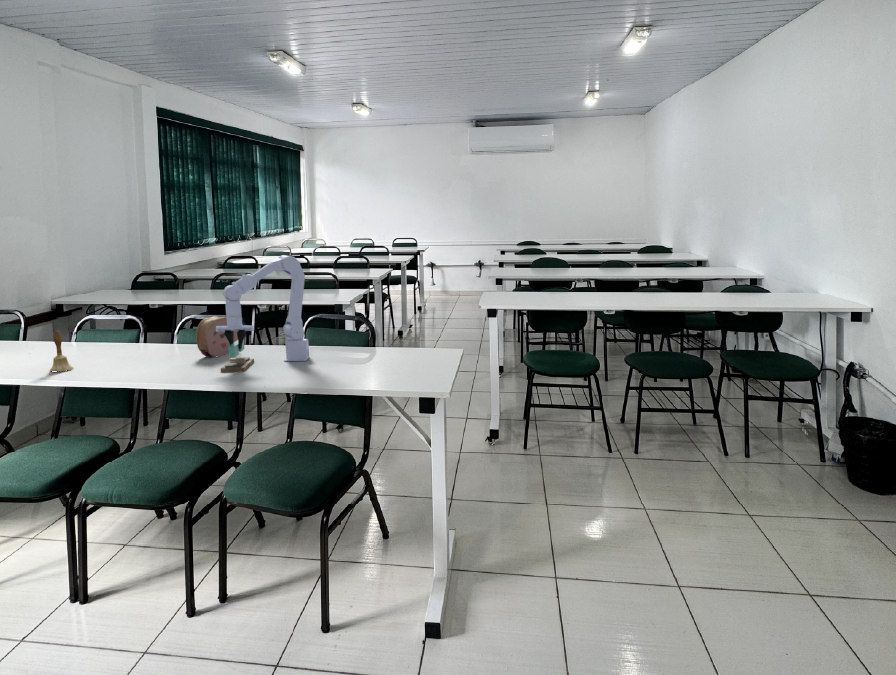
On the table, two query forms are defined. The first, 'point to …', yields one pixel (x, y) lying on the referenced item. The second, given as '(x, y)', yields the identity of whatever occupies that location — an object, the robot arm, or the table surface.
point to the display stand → (237, 364)
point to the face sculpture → (213, 337)
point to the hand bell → (59, 356)
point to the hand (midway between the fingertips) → (236, 348)
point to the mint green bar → (235, 349)
